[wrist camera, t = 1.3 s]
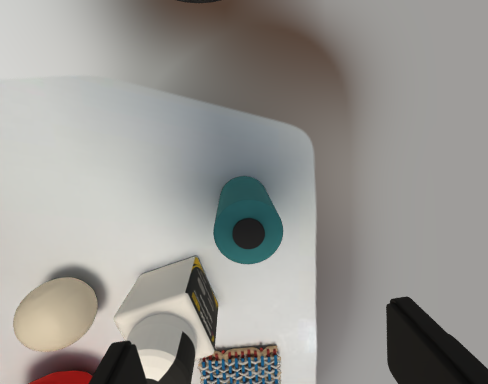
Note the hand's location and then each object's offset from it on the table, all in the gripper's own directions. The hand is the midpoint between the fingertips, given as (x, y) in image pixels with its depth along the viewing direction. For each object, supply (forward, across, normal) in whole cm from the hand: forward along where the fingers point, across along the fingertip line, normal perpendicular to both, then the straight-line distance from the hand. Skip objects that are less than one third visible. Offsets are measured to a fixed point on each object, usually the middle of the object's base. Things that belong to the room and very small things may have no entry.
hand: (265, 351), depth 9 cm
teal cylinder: (+19, 0, 0) cm, 19 cm away
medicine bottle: (+19, +9, +9) cm, 23 cm away
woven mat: (+20, +4, +24) cm, 31 cm away
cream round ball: (+19, +21, +8) cm, 30 cm away
